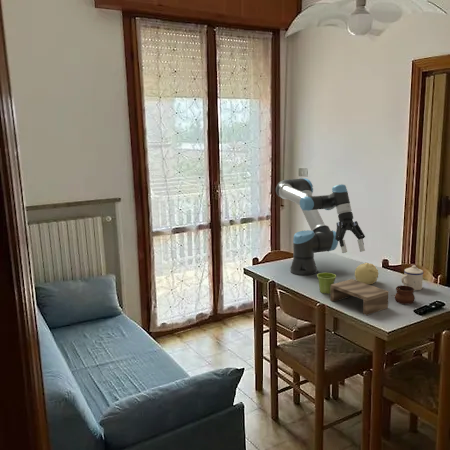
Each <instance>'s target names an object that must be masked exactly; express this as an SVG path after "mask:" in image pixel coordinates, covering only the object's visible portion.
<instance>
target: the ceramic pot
mask: <svg viewBox="0 0 450 450" xmlns="http://www.w3.org/2000/svg"><path fill="white" fill-rule="evenodd" d="M395 291H396V292H395V294H393V295H390V296H391V297H392V296H394V299H395V302H396V303H398V304H400V305H412V304H414V302H415V300H416V299H415V297H416V296H415V295H414V292H415V290H414V288H413V287H410V286H404V285H403V284H402V285H401V284H400V285H398V286H396V287H395Z"/></svg>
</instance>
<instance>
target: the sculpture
mask: <svg viewBox="0 0 450 450" xmlns="http://www.w3.org/2000/svg"><path fill="white" fill-rule="evenodd" d="M354 270H355V271H354V278H355V280H356V281H359V282H362V283H365V284H368V285H373V284H374V283H376V282H377V281H378V278H379V274H380V273H379V269H378V268H377V266H376V265H374V264H373V263H369V262H364V263H361V264H359V265H358V266H356V268H355V269H354Z"/></svg>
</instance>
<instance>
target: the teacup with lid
mask: <svg viewBox="0 0 450 450" xmlns="http://www.w3.org/2000/svg"><path fill="white" fill-rule="evenodd" d="M403 272H404V274H403V276H402V277H401V284H402V285H403V286H410V287H413V288H414V291H420V290H422V289H423V279H424V278H423V277H424V270H423V269H420V268H418V267H417V266H416V265H415V264H413V265H411V267H407V268H404V271H403Z"/></svg>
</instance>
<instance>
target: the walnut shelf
mask: <svg viewBox="0 0 450 450" xmlns="http://www.w3.org/2000/svg"><path fill="white" fill-rule="evenodd" d="M389 293H390V292H389V291H388V290H386V289H384V288H381V287H377V286H374V285H372V284H365V283H362V282H359V281H357V280H356V279H354V278H350V279H346V280H342V281H339V282H334V284H331V293H329V294H330V298H329V299H330V302H337V301H340V300H341V301H342V300H344V299H347V298H351V297H355V298H358V299H361V300H363V304H362V305H363V307H362V314H363V315H366V316H368V315H371V314H374V313H377V312H380V311H383V310H386V309H388V308H389Z"/></svg>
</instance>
